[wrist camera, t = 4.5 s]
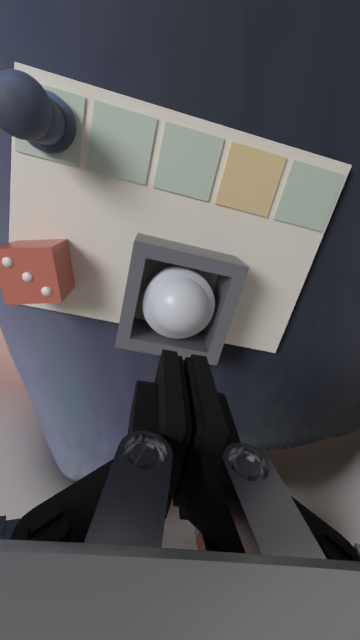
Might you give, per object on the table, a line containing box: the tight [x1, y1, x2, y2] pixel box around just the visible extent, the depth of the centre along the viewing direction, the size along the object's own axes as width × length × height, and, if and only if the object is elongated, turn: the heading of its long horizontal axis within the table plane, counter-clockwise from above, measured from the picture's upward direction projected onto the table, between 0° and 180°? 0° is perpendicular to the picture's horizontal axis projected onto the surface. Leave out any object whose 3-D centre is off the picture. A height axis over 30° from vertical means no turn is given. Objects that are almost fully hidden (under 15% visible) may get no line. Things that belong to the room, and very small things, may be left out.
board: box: [9, 62, 352, 353], centre depth 25 cm, size 17×25×1 cm
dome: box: [142, 264, 215, 339], centre depth 24 cm, size 6×6×5 cm
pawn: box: [0, 69, 76, 154], centre depth 18 cm, size 4×4×6 cm
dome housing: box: [115, 233, 249, 366], centre depth 25 cm, size 8×8×4 cm
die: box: [0, 239, 75, 305], centre depth 23 cm, size 4×4×4 cm
